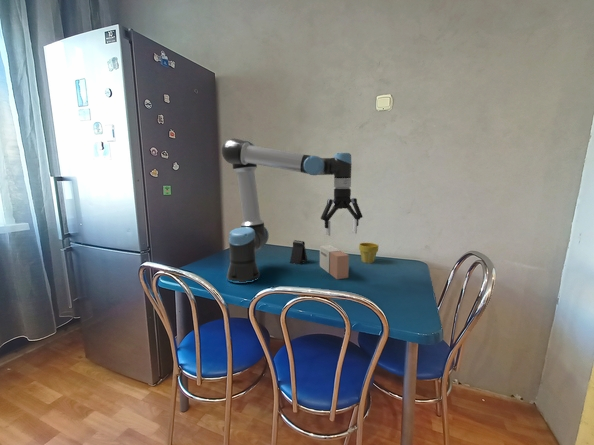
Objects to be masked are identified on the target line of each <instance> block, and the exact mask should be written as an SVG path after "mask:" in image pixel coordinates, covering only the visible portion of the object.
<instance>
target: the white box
mask: <svg viewBox="0 0 594 445" xmlns="http://www.w3.org/2000/svg"><path fill="white" fill-rule="evenodd" d="M336 251H341V250H339V249H338V248H336V247H334V246H332V245H330V244H329V245H320V246H319V267H320V269H321V268H322V269H323V270H324V271H325V272H327V273H328V274H329V271H330V252H336Z"/></svg>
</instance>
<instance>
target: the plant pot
mask: <svg viewBox="0 0 594 445" xmlns="http://www.w3.org/2000/svg"><path fill="white" fill-rule="evenodd" d="M358 250H359V252H360V259H361V262H363V263H365V264H373V263H375V260H376V255H377V253H378V251H379V244H377V243H373V242H361V243H359V245H358Z"/></svg>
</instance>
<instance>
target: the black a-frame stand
mask: <svg viewBox="0 0 594 445" xmlns="http://www.w3.org/2000/svg"><path fill="white" fill-rule="evenodd" d="M305 244H306V243H305V241H302V240H295V239H294V240H293V241H292V249H291V254H290V259H289V260H290V261H289V263H290V264H293V263H295V265H298V264H300V265H302V264H304V263H306V262H308V256H307V250H306V246H305ZM305 261H306V262H305ZM303 262H304V263H303ZM301 263H302V264H301Z"/></svg>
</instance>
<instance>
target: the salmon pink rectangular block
mask: <svg viewBox="0 0 594 445" xmlns="http://www.w3.org/2000/svg"><path fill="white" fill-rule="evenodd" d="M349 262H350V255H349V254H348V253H345V252H343V251H342V250H340V251H336V252H330V271H329V273H328V274H330V276H332V277H333V278H335V279H336V280H341V279H342V280H343V279H348V278H349V270H350V269H349V268H350V267H349V266H350V263H349Z"/></svg>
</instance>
